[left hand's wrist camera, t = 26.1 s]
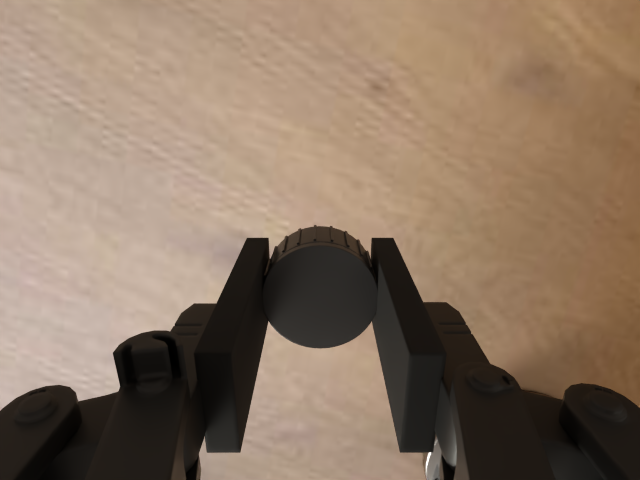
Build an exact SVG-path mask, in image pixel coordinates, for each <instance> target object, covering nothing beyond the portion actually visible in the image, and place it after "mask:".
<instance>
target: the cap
mask: <svg viewBox="0 0 640 480" xmlns="http://www.w3.org/2000/svg"><path fill="white" fill-rule="evenodd" d="M264 277H265V280H264V284H263V289H262V291H263V309H264V312H265V315H266V317H267V319H268V321H269V322H270V324H271V325H272V326H273V328H274V329H275V330H276V331H277V332H278V333H279V334H280V335H282V336H283V337H285V338H286V339H288V340H289V341H291V342H293V343H296V344H298V345H301V346H305V347H310V348H330V347H335V346H339V345H342V344H345V343H347V342H349V341H351V340H353V339H354V338H356V337H357V336H359V335H360V334H361V333H362V332H363V331H364V330H365V329H366V328H367V327H368V326H369V324H370V323H371V321H372V319H373V318H374V315H375V313H376V310H377V296H378V287H377V283H376V278H375V274H374V270H373V266H372V262H371V259H370V256H369V252H368V251H366V250H365V249H364V247H363V246H362V245H361V244H360V240H356V239H355V238H354V237H352V236H351V235H349V234H348V233H347V231H345V232H344V231H341V230H339V229H335V228H333V227H332V226H330V227H323V226H318V227H317V226H316V225H314V227H309V228H305V229H302V230H301V228H300V229H299V230H298V231H297V232H295V233H293V234H291V235H289V236H285V239H284V240H283V241H282V242H281V243H280V244H279V245H278V246H275V248H274V252H273V255H272V257H271V259H269V260H268V263H267V266H266V270H265V273H264Z"/></svg>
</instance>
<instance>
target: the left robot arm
mask: <svg viewBox="0 0 640 480" xmlns="http://www.w3.org/2000/svg"><path fill="white" fill-rule="evenodd" d="M268 260H269V238H247V239H246V241H245V244H244V246H243V248H242V250H241V252H240V254H239V256H238V259H237V261H236V263H235V265H234V267H233V269H232V272H231V274H230V276H229V278H228V280H227V282H226V284H225V287H224V289H223V291H222V293H221V295H220V297H219V299H218V302H217V304H193V305H192V306H190V307H189V308H188V309H186V310H185V311H184V312H182V313H181V315H180V316H179V318H178V320H177V321H176V323H175V326H173V328H172V330H171V331H170V332H169V331H150V332H145V333H141V334H138V335H136V336H133V337H131V338H129V339H127V340H126V341H124V342H123V343H121V344H120V345H119V346H118V347H117V348H116V350H115V351H114V352H113V356H114V360H115V365H116V369H117V374H118V378H119V383H120V389H119V391H118V392H116V393H112V394H109V395H106V396H101V397H97V398H92V399H88V400H83V401H79V402H78V399H77V396H76V392H74V391H73V390H72V389H71V388H70V387H66V386H62V385H55V386H45V387H42V388H39V389H35V390H32V391H30V392H28V393H26V394H24V395H22V396H20V397H18V398H16V399H14V400H13V401H12V402H11V403H9V404H8V405H7V406H5V407H4V408H3V409H2V410H1V411H0V480H200V475H201V467H200V460H199V451H200V448H201V445H202V442H203V439H204V436H205V442H206V449H207V453H215V452H240V451H241V446H242V442H243V437H244V432H245V428H246V423H247V418H248V414H249V409H250V404H251V400H252V395H253V390H254V386H255V381H256V376H257V372H258V367H259V362H260V358H261V353H262V348H263V344H264V339H265V334H266V330H267V325H268V319H267V317H266V315H265V312H264V309H263V291H262V289H263V284H264V280H265V277H264V273H265V270H266V266H267V263H268ZM371 262H372V266H373V270H374V274H375V278H376V283H377V287H378V296H377V310H376V313H375V315H374V318H373V319H372V324H373V329H374V333H375V338H376V343H377V347H378V352H379V357H380V361H381V366H382V371H383V375H384V380H385V385H386V389H387V394H388V398H389V403H390V408H391V412H392V417H393V422H394V426H395V431H396V436H397V440H398V445H399V450H400V452H424V453H423V468H424V472H425V476H426V480H640V408H639V407H638V406H637V405H635V404H634V403H633V402H631V401H630V400H629V399H627V398H626V397H625V396H623V395H621V394H619V393H617V392H615V391H613V390H611V389H608V388H605V387H602V386H598V385H594V384H583V383H581V384H576V385H571V386H570V387H569V388H568V389H567V390H566V391H565V393H564V397H563V400H560V399H556V398H553V397H550V396H547V395H544V394H540V393H536V392H529V391H524V390H521V388H520V386H519V384H518V383H517V381H516V380H515V378H514V377H513V376H511V375H510V374H509V373H507V372H506V371H505V370H503V369H501V368H499V367H496V366H494V365H492V364H490V363H489V361H488V359H487V358H486V356H485V354H484V353H483V351H482V349H481V348H480V346H479V344H478V343H477V341H476V339H475V338H474V336H473V334H471V331H470V329H469V328H468V326H467V325H466V323H465V321H464V319H463V318H462V316H461V314H460V313H459V311H457V310H456V309H454V308H453V307H452V306H450V305H449V304H448V303H446V302H423V301H422V299H421V297H420V295H419V292H418V290H417V288H416V286H415V284H414V282H413V280H412V277H411V275H410V273H409V271H408V269H407V267H406V264H405V262H404V260H403V258H402V256H401V254H400V252H399V249H398V247H397V245H396V243H395V241H394V239H393V238H372V244H371Z"/></svg>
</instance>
